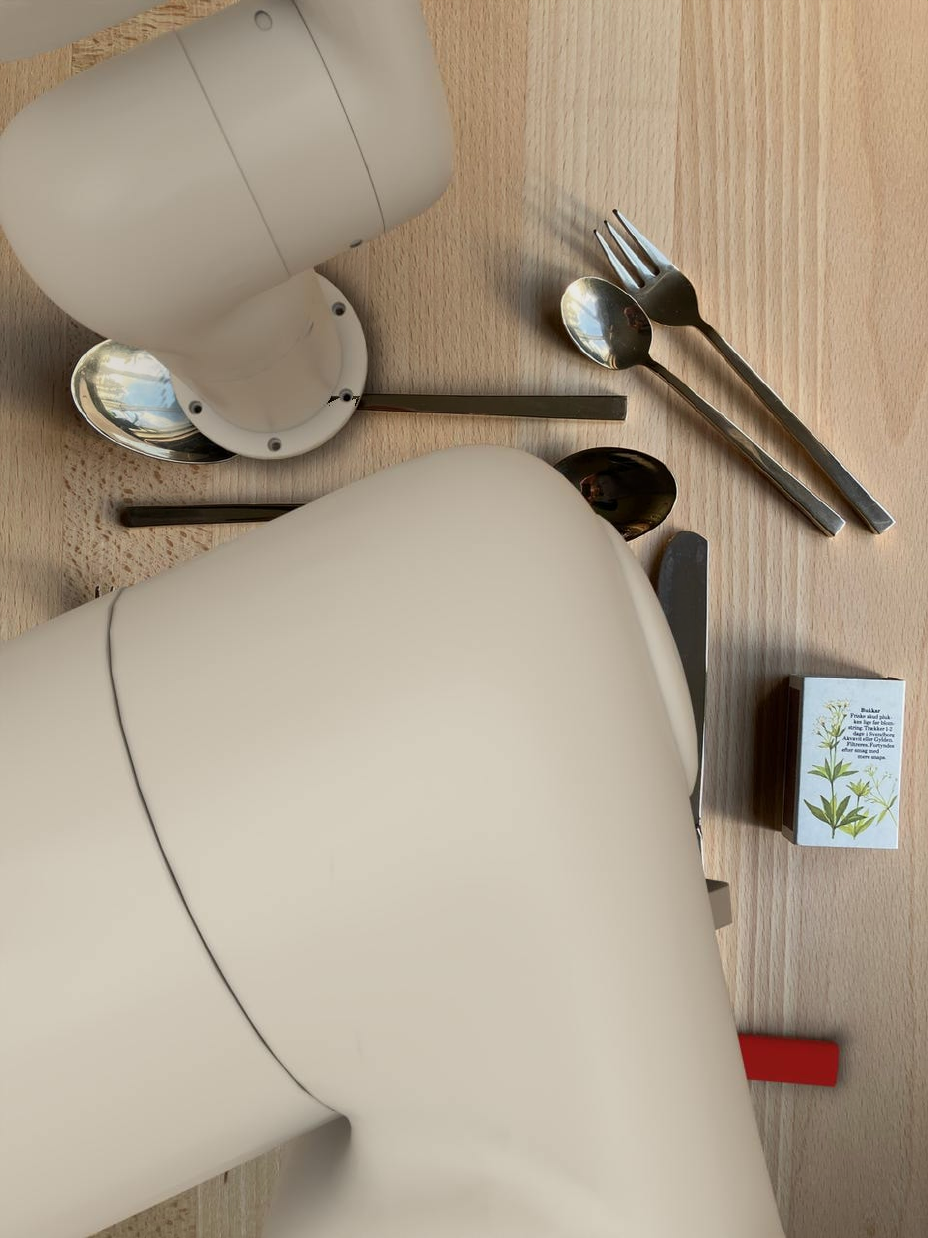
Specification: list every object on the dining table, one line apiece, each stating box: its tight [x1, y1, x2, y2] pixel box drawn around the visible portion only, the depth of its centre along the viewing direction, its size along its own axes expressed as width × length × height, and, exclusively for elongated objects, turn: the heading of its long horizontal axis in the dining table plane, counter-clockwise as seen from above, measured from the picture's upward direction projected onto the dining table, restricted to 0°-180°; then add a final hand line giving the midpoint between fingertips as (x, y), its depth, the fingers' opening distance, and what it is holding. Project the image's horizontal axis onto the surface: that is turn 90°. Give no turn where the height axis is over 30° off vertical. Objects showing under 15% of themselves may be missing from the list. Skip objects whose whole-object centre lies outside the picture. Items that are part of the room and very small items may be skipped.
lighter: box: [737, 1032, 840, 1088], centre depth 68 cm, size 3×1×8 cm
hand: (471, 867), depth 41 cm, fingers closed on cup, 7 cm apart
